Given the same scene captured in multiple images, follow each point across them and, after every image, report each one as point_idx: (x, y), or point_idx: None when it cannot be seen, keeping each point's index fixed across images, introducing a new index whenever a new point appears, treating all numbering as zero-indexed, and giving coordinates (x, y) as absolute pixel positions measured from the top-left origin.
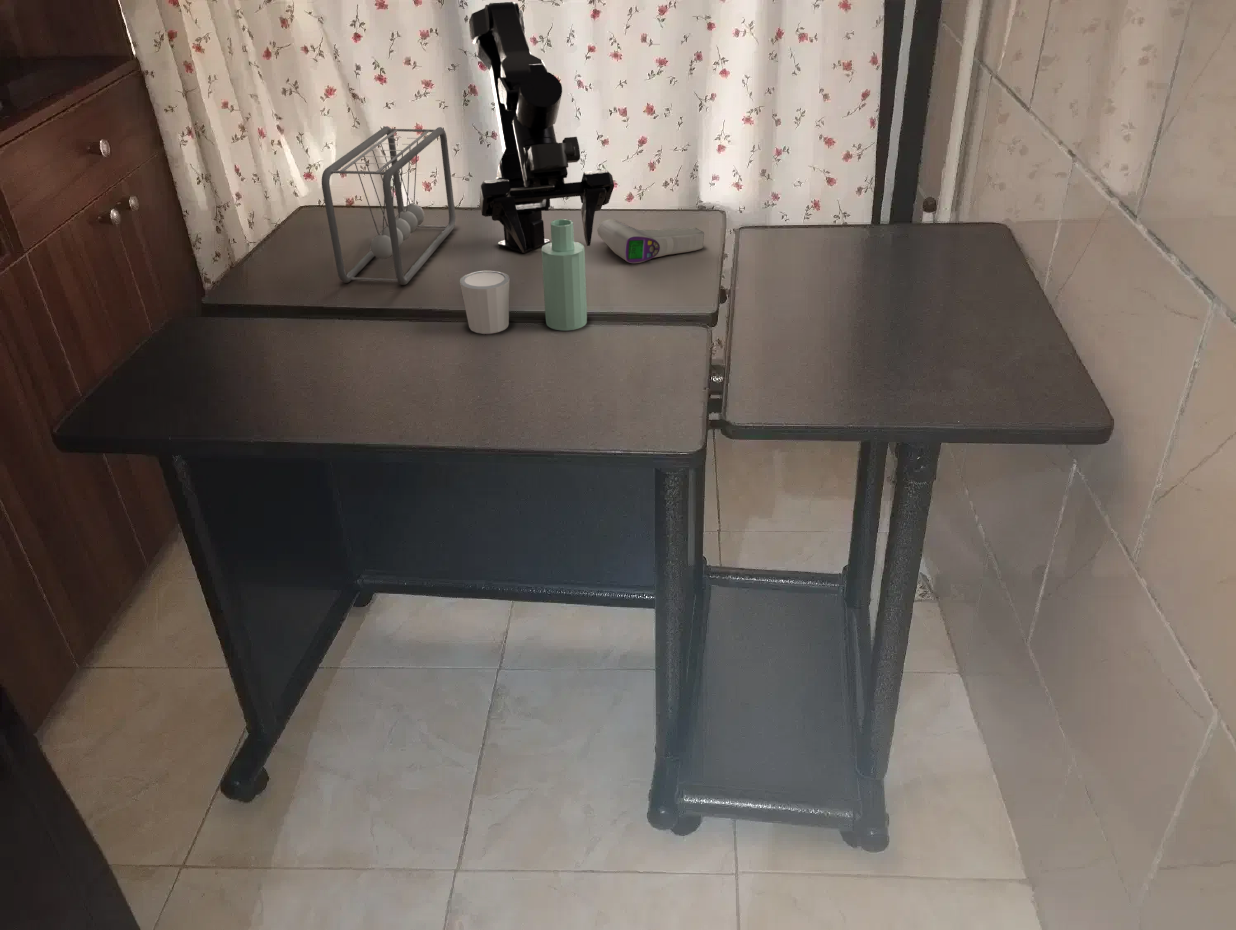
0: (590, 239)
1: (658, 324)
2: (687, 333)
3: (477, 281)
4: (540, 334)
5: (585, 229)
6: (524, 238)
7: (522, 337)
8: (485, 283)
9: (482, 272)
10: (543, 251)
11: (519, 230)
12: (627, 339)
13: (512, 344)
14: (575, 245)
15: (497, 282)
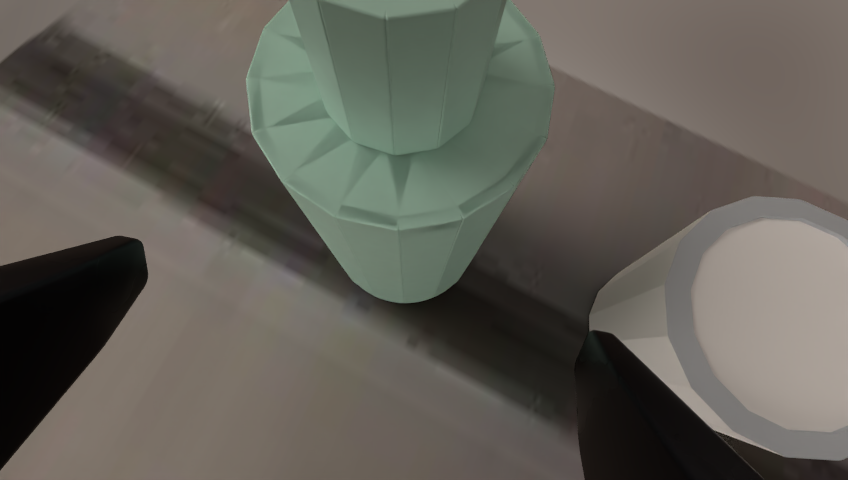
0: (102, 242)
1: (157, 89)
2: (125, 4)
3: (833, 313)
4: (516, 191)
5: (45, 327)
6: (618, 379)
7: (575, 197)
8: (796, 266)
9: (791, 430)
10: (551, 83)
11: (687, 433)
12: None
13: (617, 166)
14: (301, 83)
15: (735, 252)
